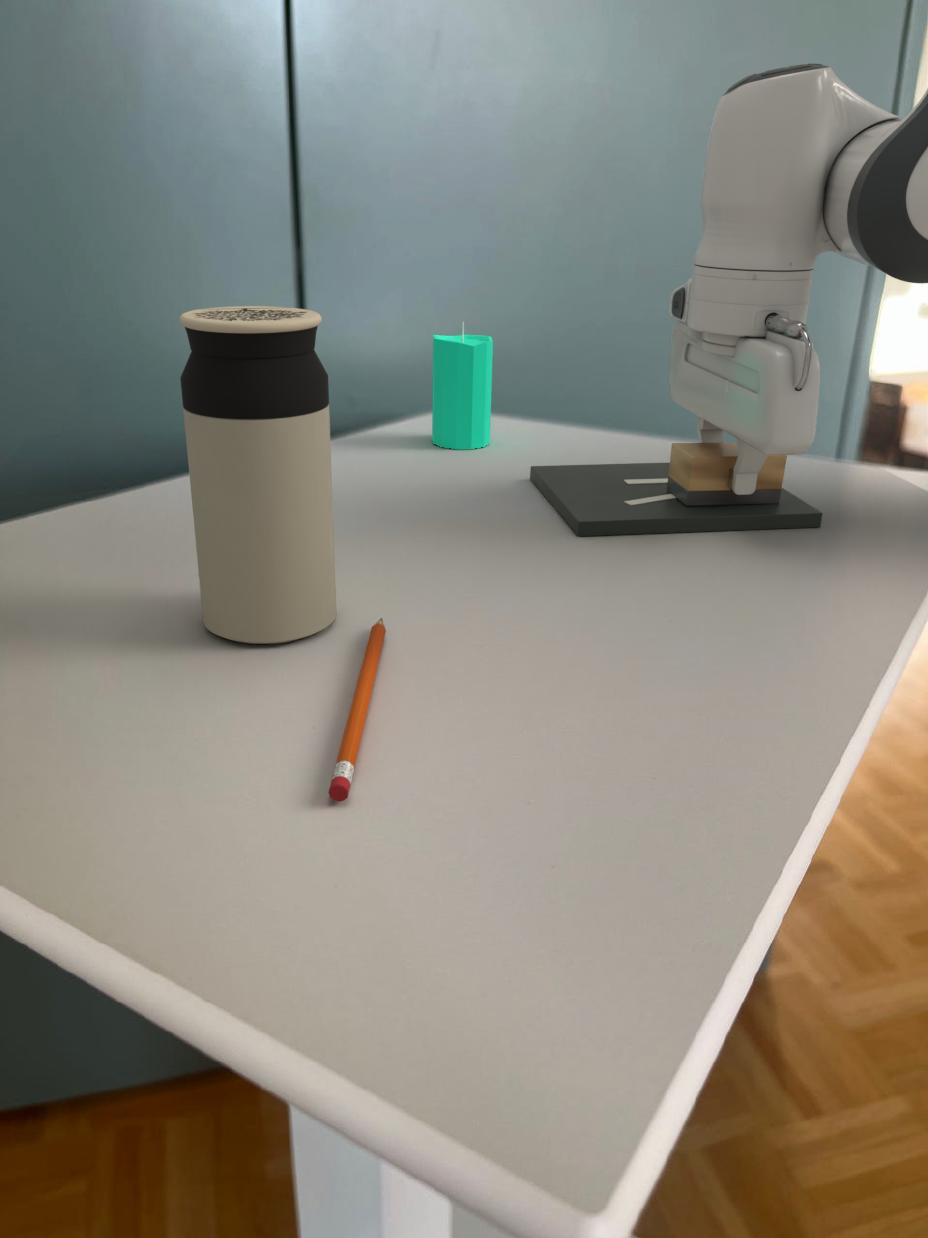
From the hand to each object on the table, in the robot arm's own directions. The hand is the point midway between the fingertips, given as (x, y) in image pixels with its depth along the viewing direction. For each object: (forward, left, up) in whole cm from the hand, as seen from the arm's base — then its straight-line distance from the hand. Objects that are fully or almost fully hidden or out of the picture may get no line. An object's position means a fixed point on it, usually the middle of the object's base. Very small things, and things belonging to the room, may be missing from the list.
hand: (725, 481), depth 82 cm
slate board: (+4, -3, -2) cm, 5 cm away
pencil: (+32, +29, -2) cm, 43 cm away
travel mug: (+37, +18, -3) cm, 41 cm away
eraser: (0, 0, -1) cm, 1 cm away
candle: (+18, -25, -3) cm, 31 cm away
